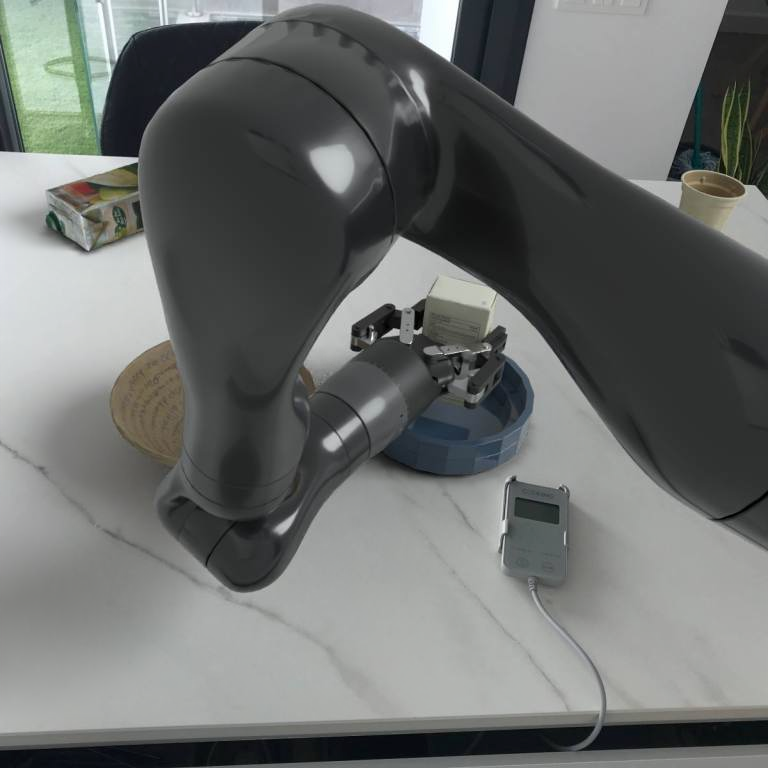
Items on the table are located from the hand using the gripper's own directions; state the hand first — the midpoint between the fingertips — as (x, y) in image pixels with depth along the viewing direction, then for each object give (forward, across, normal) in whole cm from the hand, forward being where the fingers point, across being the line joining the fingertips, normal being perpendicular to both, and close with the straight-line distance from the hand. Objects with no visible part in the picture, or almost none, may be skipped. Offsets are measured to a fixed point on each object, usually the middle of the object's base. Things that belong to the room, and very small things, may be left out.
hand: (467, 319), depth 76 cm
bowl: (-20, +14, +12) cm, 28 cm away
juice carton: (+5, +57, +12) cm, 58 cm away
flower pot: (+59, -8, +11) cm, 60 cm away
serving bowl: (-2, 0, +12) cm, 12 cm away
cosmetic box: (-2, 0, +8) cm, 8 cm away
